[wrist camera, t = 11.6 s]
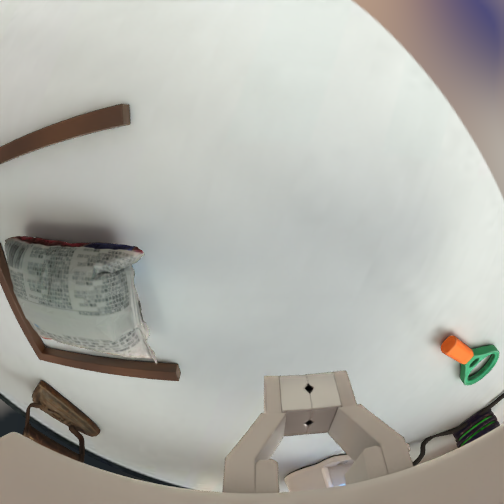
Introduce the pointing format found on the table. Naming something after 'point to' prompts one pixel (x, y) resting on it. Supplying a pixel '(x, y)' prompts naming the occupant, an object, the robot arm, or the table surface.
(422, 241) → the table surface
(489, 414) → the dark blue cylinder
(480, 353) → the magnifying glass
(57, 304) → the packaged food
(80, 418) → the clothes iron
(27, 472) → the robot arm
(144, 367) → the bay
